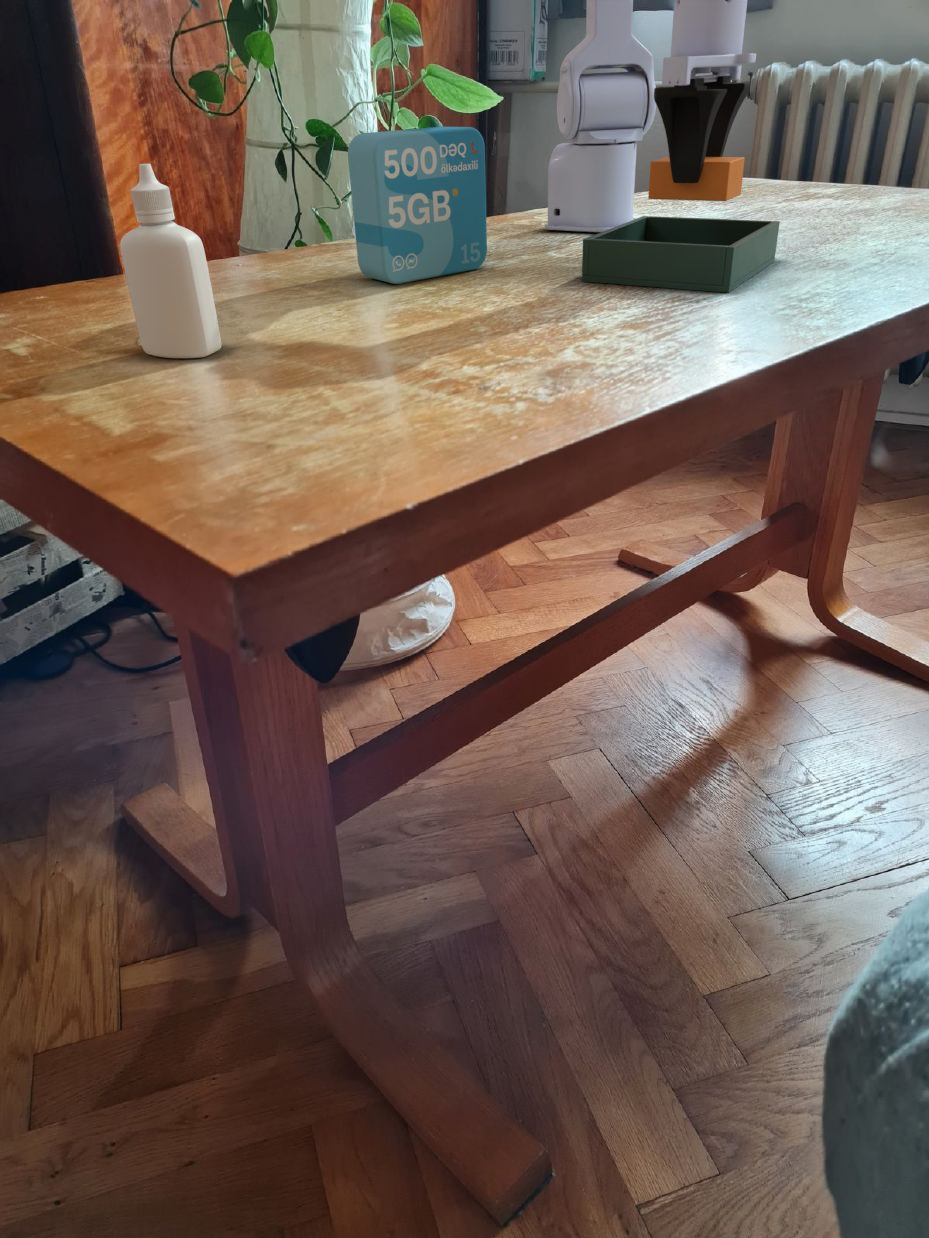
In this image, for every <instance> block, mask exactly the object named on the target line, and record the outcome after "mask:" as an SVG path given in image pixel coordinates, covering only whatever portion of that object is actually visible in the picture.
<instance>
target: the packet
mask: <svg viewBox="0 0 929 1238" xmlns="http://www.w3.org/2000/svg"><path fill="white" fill-rule="evenodd" d="M745 159H746V157H744V156H722V157H705V160H704V164H703V168H702V172H701V175H700V178H699V181H698V182H697V183H673V179H672V173H671V166H670V158H669V156H665V157H662V158H658V159H654V160H651V161H650V166H649V168H650V169H649V182H648V197H647V198H648V200H668V201H669V200H670V201H671V200H672V201H703V202H704V201H705V202H727V201H730V200H732V199H734V198H736V197H738V196H739V197H740V196H741V194H742V187H743V180H744V179H743V177H744V168H745V161H746V160H745Z"/></svg>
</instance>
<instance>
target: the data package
mask: <svg viewBox="0 0 929 1238" xmlns="http://www.w3.org/2000/svg"><path fill="white" fill-rule="evenodd" d="M485 146H486V145H485V141H484V137H483V136H482V134H481V132H480V131H479V130H478V129H477V128H475V127H471V126H470V127H469V126H433V127H420V128H410V129H397V130H386V131H385V130H384V131H374V132H362V133H359V134H356V135H355V136H354V137H353V138H352V139H351V141H350V142H349V145H348V149H347V162H348V173H349V182H350V183H349V184H350V193H351V203H352V204H351V205H352V212H353V213H352V214H353V215H352V216H353V223H354V234H355V245H356V256H357V264H358V268H359V270H360V272H361V273H362V274H363V275H364V276H365V277H367V278H369V279H374V280H377V281H380V282H381V281H382V282H385V283H390V284H393V285H401V284H407V283H412V282H416V281H423V280H427V279H431V278H432V279H433V278H438V277H443V276H448V275H454V274H458V273H465V272H469V271H474V270H478V268H480V267H481V266H482V265H483V264H484V262H485V261H486V258H487V255H488V232H487V231H488V230H487V191H486V190H487V189H486V188H487V187H486V184H487V183H486V151H485V150H486V149H485V148H486V147H485Z"/></svg>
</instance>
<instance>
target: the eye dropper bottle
mask: <svg viewBox="0 0 929 1238" xmlns="http://www.w3.org/2000/svg"><path fill="white" fill-rule="evenodd" d="M138 173H139V174H138V175H139V180H138V183H137V184H136V185H135V186H133V187H132V188H131V189H130V195H131V200H132V204H133V209H134V214H135V218H136V222H137V223H140V224H139V225H138V226H137V227H135V228H133V229H131V230H130V231H128V232H126V233H125V234H124V235H123V236H122V238H121V239H120V241H119V249H120V255H121V260H122V265H123V271H124V275H125V278H126V283H127V287H128V292H129V297H130V301H131V306H132V310H133V313H134V319H135V323H136V327H137V331H138V336H139V340H140V344H141V347H142V350H143V351H144V353H145V354H147V355H149V356H153V357H159V358H163V359H164V358H165V359H199V358H205V357H208V356H211V355H212V354H214V353H217V352H219V350H221V348H222V338H221V337H222V336H221V332H220V326H219V322H218V315H217V309H216V305H215V298H214V293H213V287H212V283H211V278H210V277H211V276H210V272H209V266H208V261H207V258H206V257H207V256H206V251H205V248H204V244H203V241H202V239H201V238H200V236H199V235H197V233H195V232H194V231H192V230H190V229H188V228H186V227H184V226H182V225H179V224H177V223H176V222H175V221H174V220H175V219H176V217H175V212H174V206H173V202H172V201H173V200H172V196H171V191H170V187H169V186H168V185H165V184H162V183H161V182H160V181H159V180H158V179H157V177H156V175H155V173H154V170H153V167H152V165H151V163H140V164H138Z"/></svg>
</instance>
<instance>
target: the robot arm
mask: <svg viewBox="0 0 929 1238" xmlns="http://www.w3.org/2000/svg"><path fill="white" fill-rule="evenodd" d="M747 7H748V0H674V3H673V17H672V29H671V30H672V31H671V46H670V56H665V57H663V60H662V61H663V62H662V73H661V74H662V77H661V86H660V87H657V85H656V82H655V81H656V80H655V62H654V56H653V54H652V53H651V52H650V51H649V50H648V49H647V48H646V47H645V46H644V45H643V44H642V43H641V42H640V41H639V40H638V39H637V38H636V37H635V36H634V34H633V15H634V14H633V13H634V12H633V11H634V0H586V17H585V18H586V21H585V23H586V24H585V25H586V26H585V27H586V28H585V37H584V38H583V39H582V40H581V41H580V42H579V43H578V44H577V45H576V46H575V47H574V48H573V49H572V50H571V51H570V52H569V53H568V54H567V55H566V56H565V57H564V59H563V60H562V63H561V65H560V68H559V85H558V90H557V95H556V121H557V125H558V129H559V132H560V133H561V134H562V136H563V138H564V139H565V140H567V141H566V142H561V143H559V144H557V145H556V146H555V147H554V148H553V150H552V152H551V155H550V158H549V161H548V162H549V163H548V170H547V224H544V230H547V231H548V230H549V231H565V232H567V231H568V232H588V233H601V232H603V231H606V230H609V229H611V228H614V227H616V226H619V225H622V224H624V223H627V222H629V221H632V220H635V219H636V218H634V202H635V185H636V166H637V151H638V150H637V149H638V142H639V141H640V142H641V141H643V136H645V134H647V132H648V131H649V130H650V128H651V126H652V125H653V122H654V120H655V115H656V111H657V109H658V112H659V114H660V118H661V121H662V124H663V127H664V131H665V136H666V142H667V149H668V157H669V158H670V166H671V173H672V179H673V183H697V182H698V181H699V178H700V175H701V172H702V168H703V164H704V160H705V157H724V156H723V155H724V152H725V149H726V145H727V142H728V139H729V135H730V133H731V129H732V126H733V125H734V122H735V119H736V117H737V114H738V112H739V110H740V108H741V106H742V105H743V102H744V101H745V99H746V98H747V96H748V95H749V91H750V87H751V83H750V82H748V81H747V82H731V81H739V80H741V75H742V67H743V65H745V64H756V60H757V53H743V47H744V46H743V45H744V36H745V28H746V27H745V26H746V19H747V17H746V16H747ZM607 69H623V70H625V71H612V72H610V71H609V72H590V73H583V72H584V71H587V70H607ZM697 74H698V75H697ZM699 74H704V75H699Z"/></svg>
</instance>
